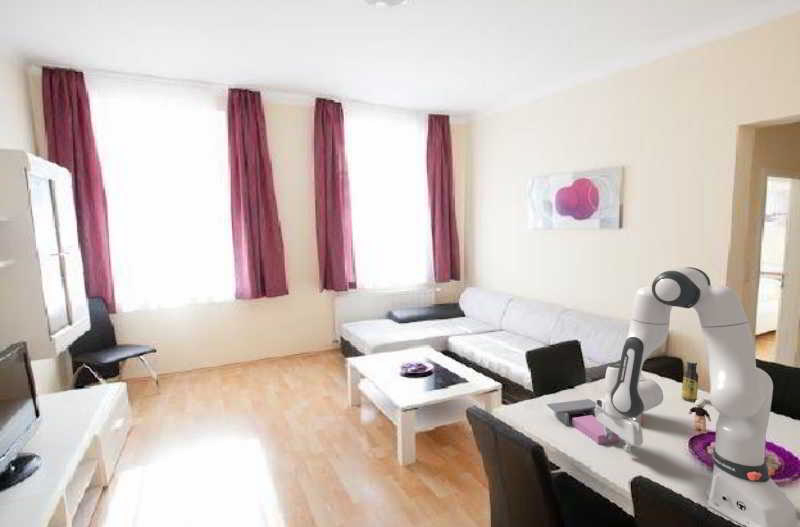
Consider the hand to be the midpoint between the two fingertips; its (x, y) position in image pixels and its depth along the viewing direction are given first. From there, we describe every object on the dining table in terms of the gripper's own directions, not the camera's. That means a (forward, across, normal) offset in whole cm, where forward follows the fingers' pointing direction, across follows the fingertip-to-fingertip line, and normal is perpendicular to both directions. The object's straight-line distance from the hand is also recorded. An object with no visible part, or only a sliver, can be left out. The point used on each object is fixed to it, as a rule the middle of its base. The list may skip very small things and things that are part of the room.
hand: (617, 444), depth 150 cm
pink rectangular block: (+2, +13, 0) cm, 13 cm away
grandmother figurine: (+2, +5, -40) cm, 40 cm away
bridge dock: (+2, +25, 0) cm, 25 cm away
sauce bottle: (+2, +29, -60) cm, 67 cm away
